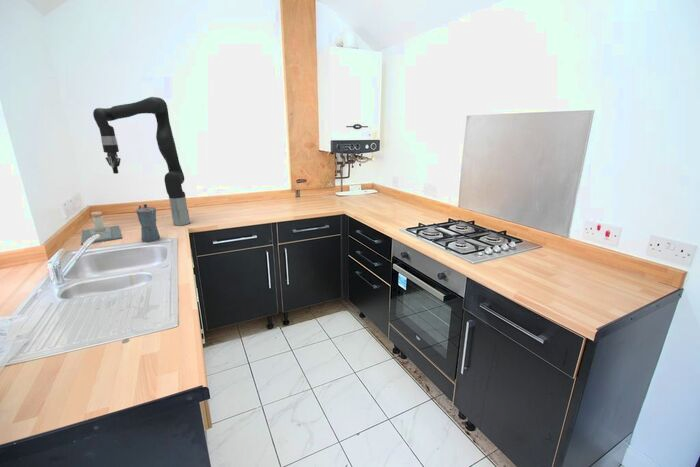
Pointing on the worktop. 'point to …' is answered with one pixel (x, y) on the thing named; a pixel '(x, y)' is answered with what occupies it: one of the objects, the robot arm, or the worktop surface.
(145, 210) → the moka pot
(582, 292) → the worktop surface
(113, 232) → the board
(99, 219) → the grey upright post
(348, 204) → the worktop surface
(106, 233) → the mount
